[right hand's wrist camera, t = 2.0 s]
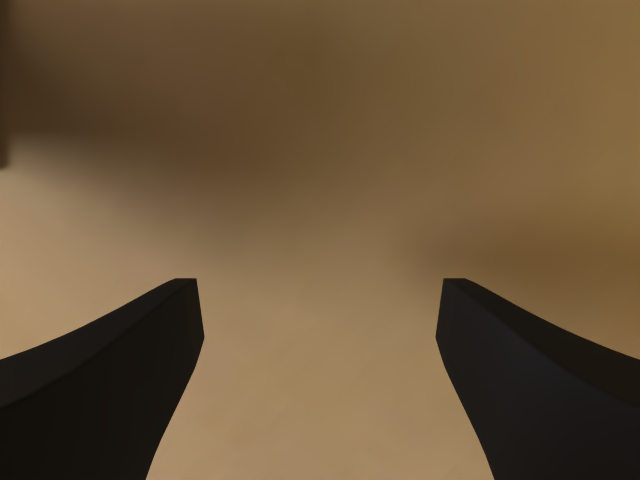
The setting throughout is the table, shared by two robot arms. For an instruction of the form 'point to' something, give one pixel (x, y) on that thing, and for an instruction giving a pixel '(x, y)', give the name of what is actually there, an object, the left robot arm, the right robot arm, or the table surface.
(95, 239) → the table surface
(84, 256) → the table surface
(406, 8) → the table surface
